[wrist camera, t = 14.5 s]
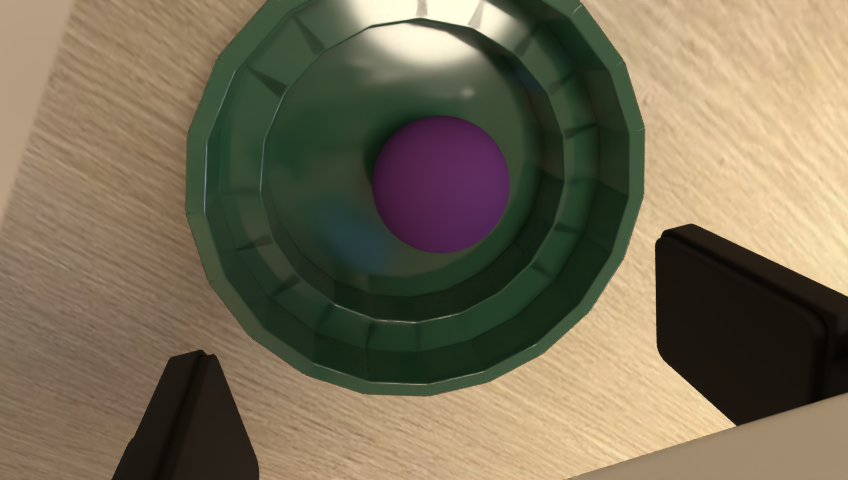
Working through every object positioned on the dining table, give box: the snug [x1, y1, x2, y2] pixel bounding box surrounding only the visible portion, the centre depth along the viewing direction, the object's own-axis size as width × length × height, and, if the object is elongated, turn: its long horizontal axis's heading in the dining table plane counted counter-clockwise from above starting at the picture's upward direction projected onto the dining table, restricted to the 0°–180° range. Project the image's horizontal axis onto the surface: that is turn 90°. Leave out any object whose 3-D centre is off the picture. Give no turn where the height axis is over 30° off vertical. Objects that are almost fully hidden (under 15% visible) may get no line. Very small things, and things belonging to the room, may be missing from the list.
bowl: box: [185, 0, 645, 396], centre depth 20 cm, size 15×15×5 cm
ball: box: [372, 115, 510, 253], centre depth 19 cm, size 5×5×5 cm
